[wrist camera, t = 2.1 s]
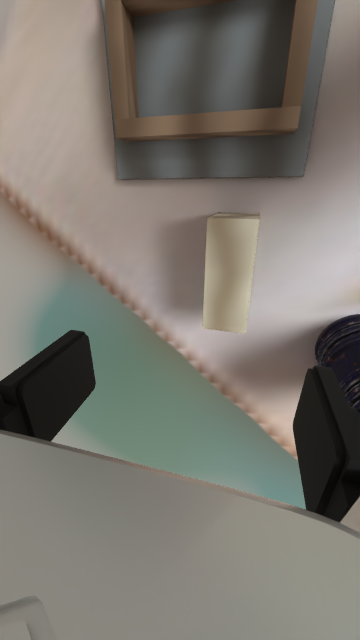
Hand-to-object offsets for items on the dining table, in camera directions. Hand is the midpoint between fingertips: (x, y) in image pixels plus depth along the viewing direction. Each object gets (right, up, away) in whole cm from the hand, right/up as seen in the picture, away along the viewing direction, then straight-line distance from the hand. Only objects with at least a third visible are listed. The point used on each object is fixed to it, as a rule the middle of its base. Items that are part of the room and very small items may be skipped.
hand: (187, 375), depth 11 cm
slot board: (+2, +26, +14) cm, 30 cm away
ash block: (+6, +9, +21) cm, 24 cm away
